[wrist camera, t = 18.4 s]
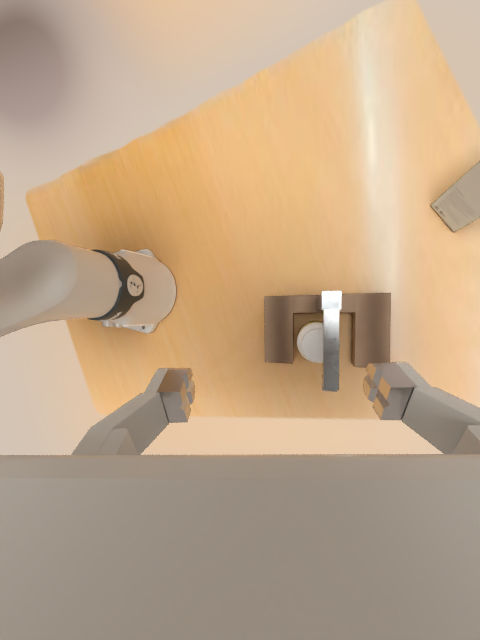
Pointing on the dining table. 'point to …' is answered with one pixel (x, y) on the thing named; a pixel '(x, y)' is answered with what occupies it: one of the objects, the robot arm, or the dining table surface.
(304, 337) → the pill bottle
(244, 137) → the dining table surface
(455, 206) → the skincare box
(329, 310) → the hook arm
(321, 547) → the robot arm
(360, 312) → the cutout shelf
